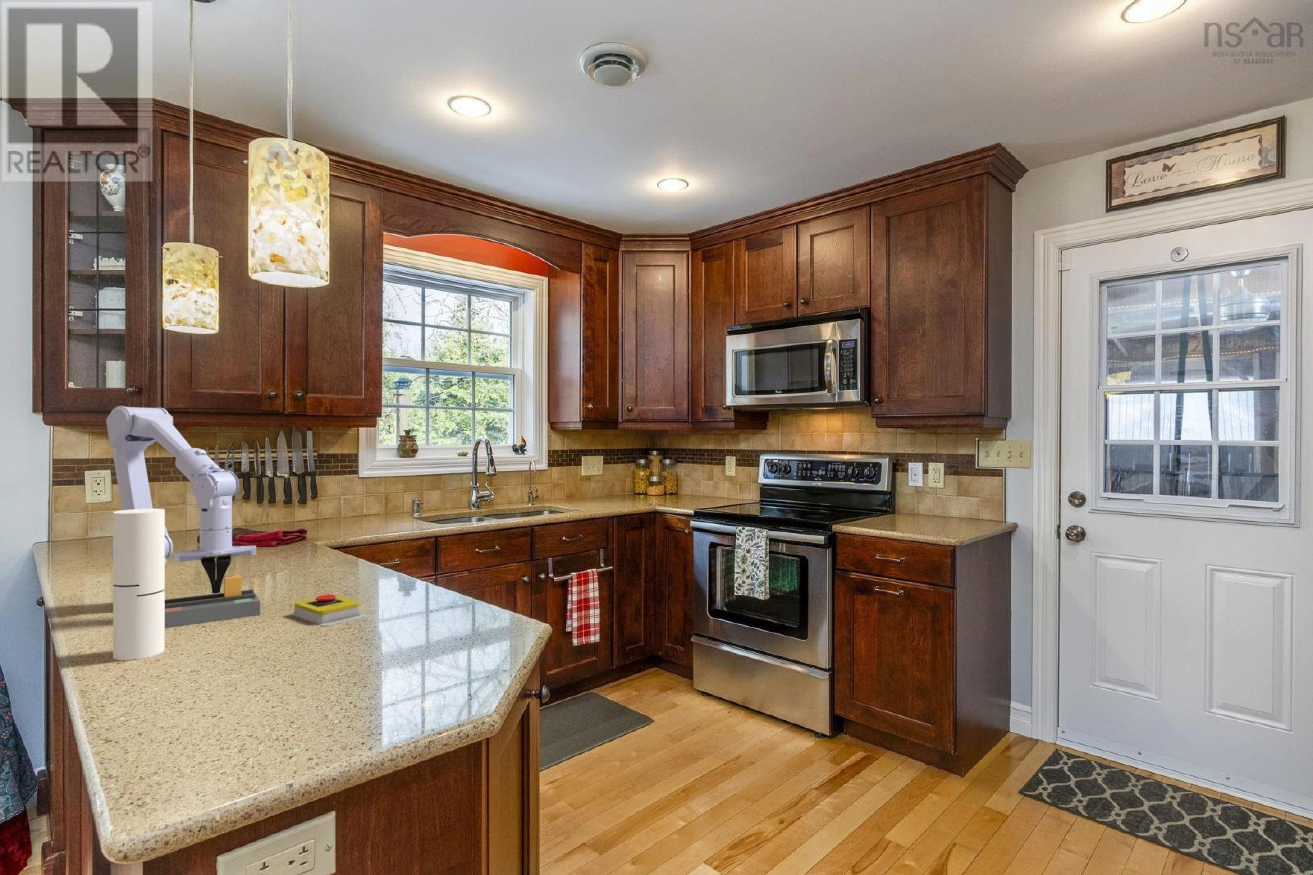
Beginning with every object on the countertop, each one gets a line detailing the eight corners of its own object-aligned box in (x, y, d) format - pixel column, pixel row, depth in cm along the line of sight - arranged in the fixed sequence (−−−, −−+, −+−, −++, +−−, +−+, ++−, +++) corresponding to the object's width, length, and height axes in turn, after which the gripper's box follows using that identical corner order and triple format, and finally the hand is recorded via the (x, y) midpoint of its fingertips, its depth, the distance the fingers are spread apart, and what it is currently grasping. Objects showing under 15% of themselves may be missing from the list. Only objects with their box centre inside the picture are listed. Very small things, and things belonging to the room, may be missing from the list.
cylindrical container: (121, 649, 119) (121, 509, 119) (169, 645, 122) (169, 508, 121) (106, 662, 112) (106, 514, 112) (158, 657, 115) (158, 512, 115)
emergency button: (331, 588, 150) (368, 598, 141) (331, 607, 150) (368, 619, 141) (288, 596, 142) (324, 607, 134) (288, 616, 142) (324, 629, 134)
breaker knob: (223, 596, 144) (223, 576, 144) (240, 594, 146) (240, 574, 146) (224, 599, 142) (224, 578, 142) (241, 597, 144) (241, 577, 144)
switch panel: (154, 615, 141) (154, 597, 141) (253, 602, 151) (253, 586, 151) (153, 629, 131) (153, 610, 131) (260, 614, 142) (260, 597, 142)
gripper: (174, 533, 134) (174, 601, 134) (257, 528, 143) (257, 591, 143) (173, 529, 140) (173, 594, 140) (254, 524, 149) (254, 585, 149)
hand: (216, 592), depth 142 cm, fingers closed
